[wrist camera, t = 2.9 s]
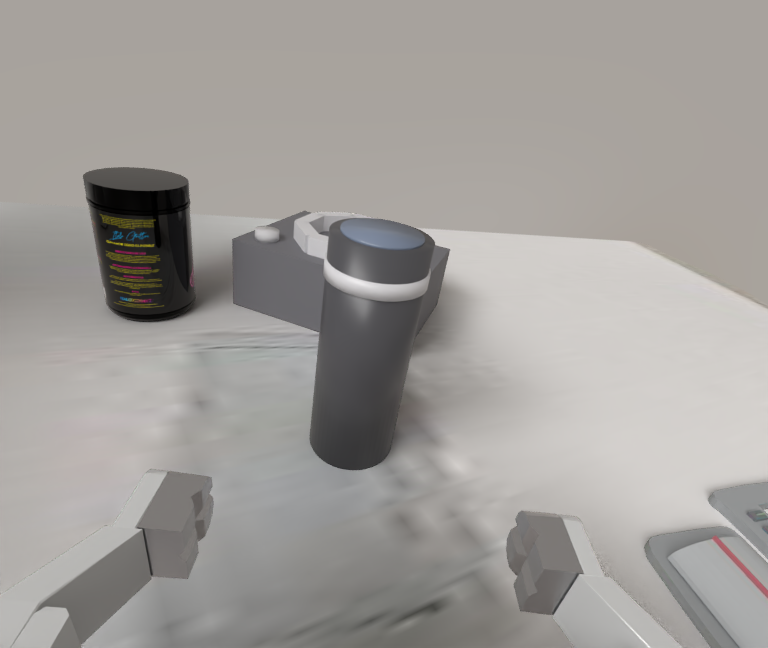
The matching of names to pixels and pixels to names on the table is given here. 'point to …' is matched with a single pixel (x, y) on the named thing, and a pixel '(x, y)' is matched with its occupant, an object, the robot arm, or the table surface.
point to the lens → (366, 336)
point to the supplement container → (142, 241)
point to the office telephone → (721, 570)
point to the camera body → (301, 269)
